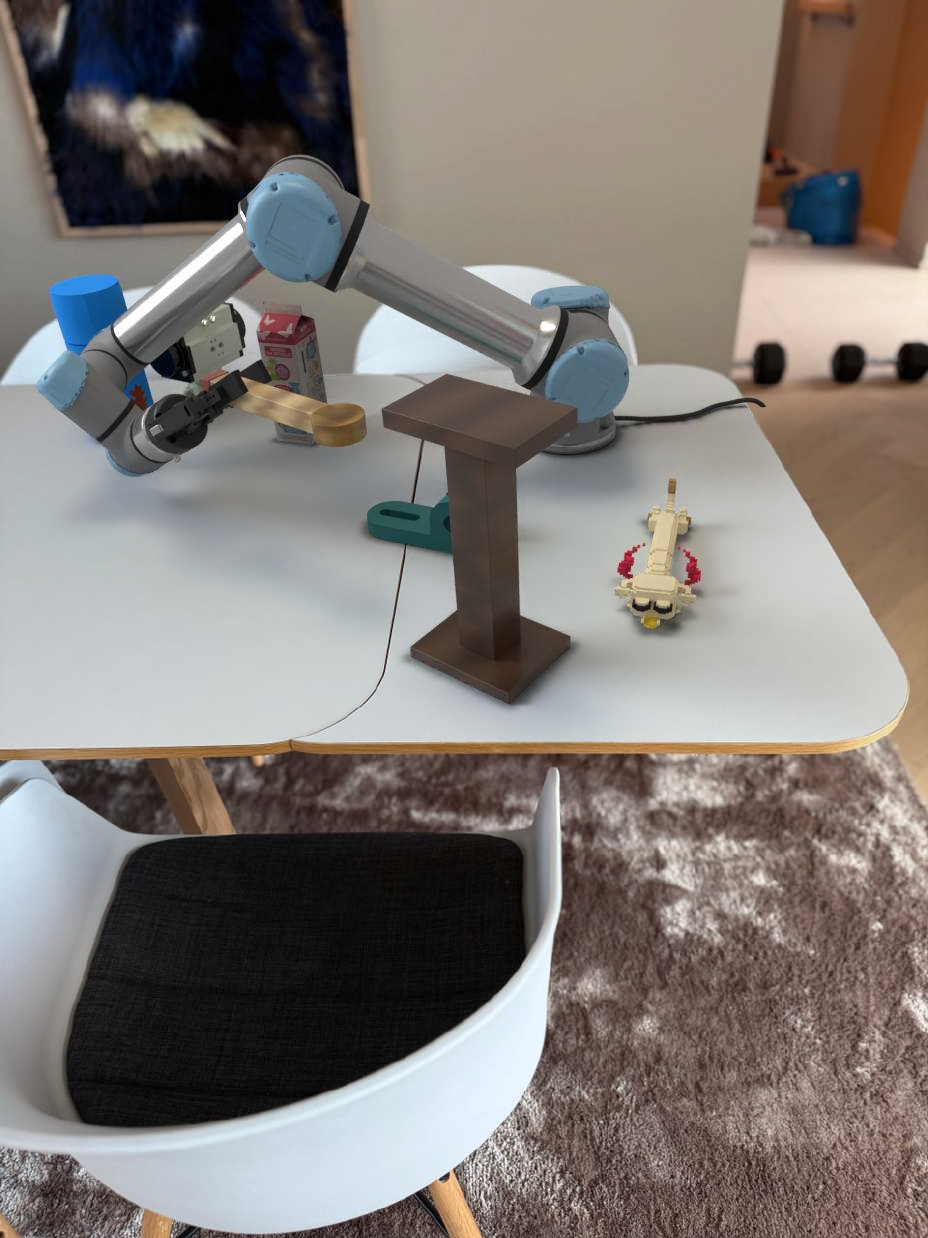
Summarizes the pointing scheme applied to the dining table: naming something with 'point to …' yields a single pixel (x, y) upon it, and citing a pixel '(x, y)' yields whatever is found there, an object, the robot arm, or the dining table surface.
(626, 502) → the dining table surface
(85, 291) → the thermos
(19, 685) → the dining table surface
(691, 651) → the dining table surface
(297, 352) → the juice carton
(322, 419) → the pointer
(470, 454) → the stand
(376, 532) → the bracket
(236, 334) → the ball valve
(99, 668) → the dining table surface
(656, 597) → the cream toy animal figure
